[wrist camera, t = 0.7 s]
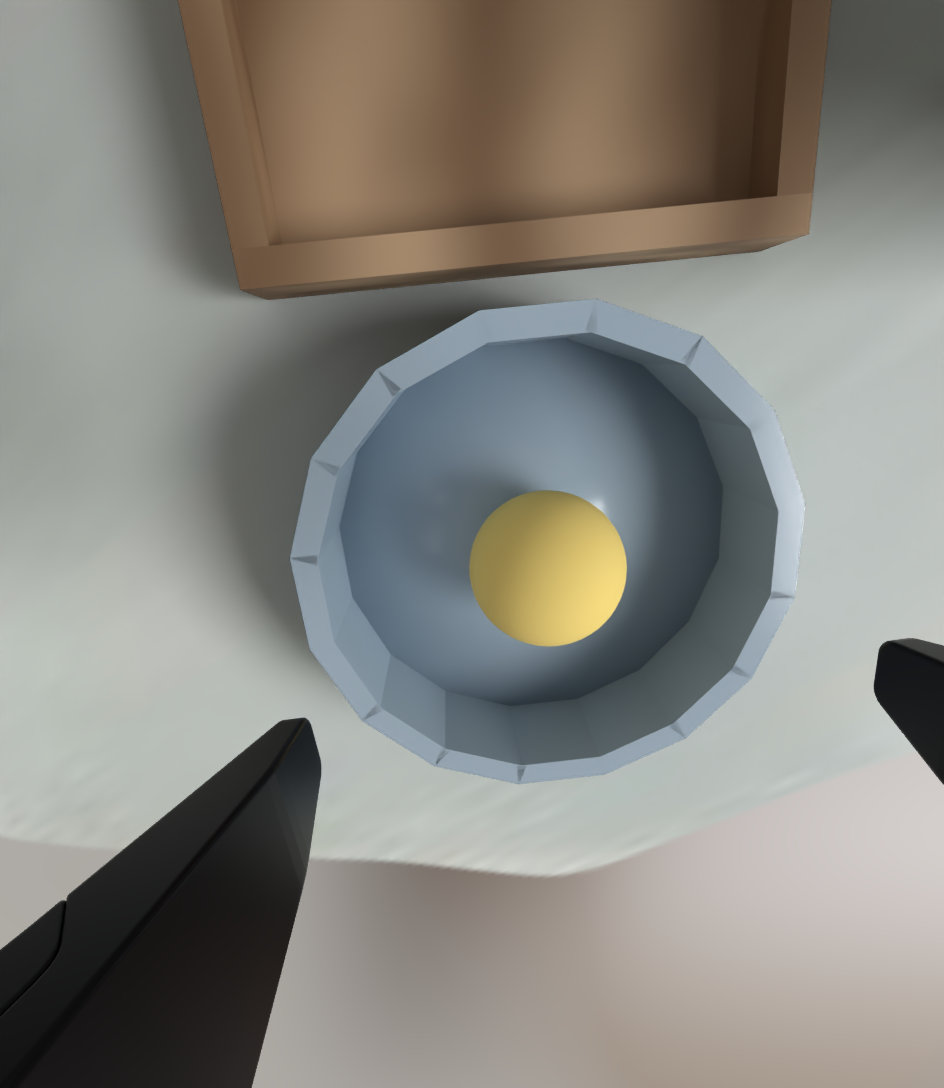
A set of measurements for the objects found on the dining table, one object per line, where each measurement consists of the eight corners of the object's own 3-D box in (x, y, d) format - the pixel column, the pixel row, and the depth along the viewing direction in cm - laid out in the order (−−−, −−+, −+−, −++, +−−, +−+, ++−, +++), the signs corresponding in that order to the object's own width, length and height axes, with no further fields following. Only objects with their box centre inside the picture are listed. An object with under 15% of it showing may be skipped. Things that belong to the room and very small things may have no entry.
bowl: (749, 293, 18) (831, 275, 14) (722, 690, 23) (777, 755, 19) (284, 340, 18) (239, 334, 14) (361, 730, 23) (343, 803, 19)
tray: (789, -172, 14) (858, -279, 12) (759, 251, 17) (808, 233, 15) (184, -118, 14) (131, -217, 12) (268, 299, 17) (240, 289, 15)
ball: (600, 469, 19) (652, 504, 14) (602, 597, 20) (649, 668, 16) (459, 483, 19) (464, 524, 14) (473, 611, 20) (481, 686, 16)
